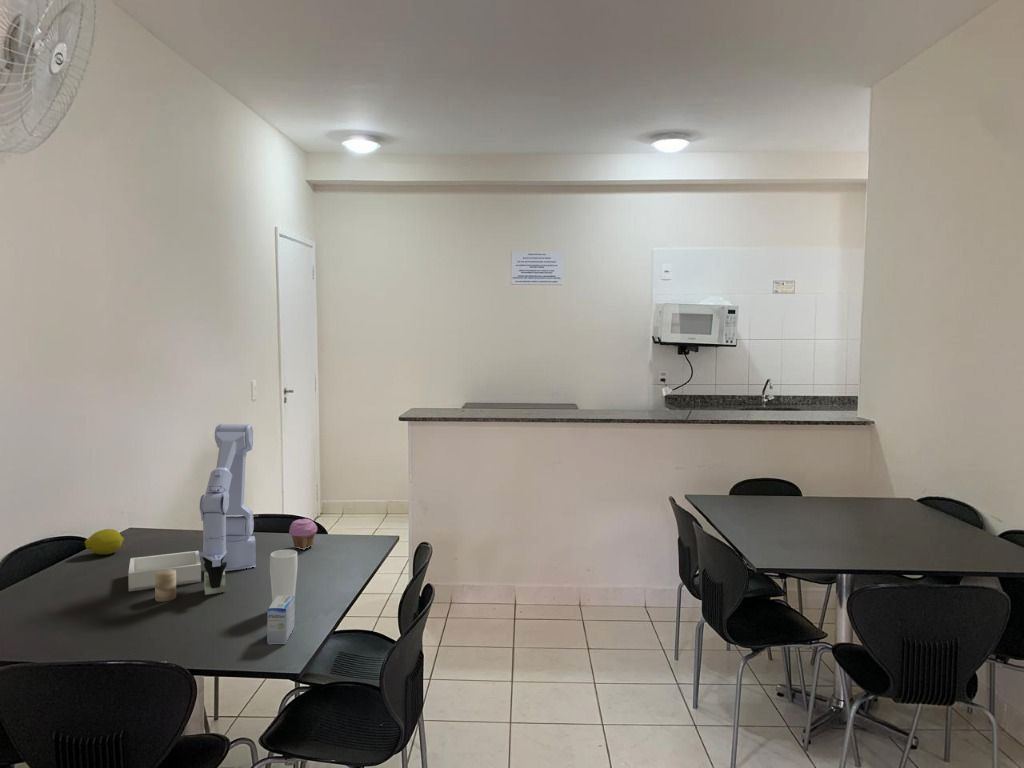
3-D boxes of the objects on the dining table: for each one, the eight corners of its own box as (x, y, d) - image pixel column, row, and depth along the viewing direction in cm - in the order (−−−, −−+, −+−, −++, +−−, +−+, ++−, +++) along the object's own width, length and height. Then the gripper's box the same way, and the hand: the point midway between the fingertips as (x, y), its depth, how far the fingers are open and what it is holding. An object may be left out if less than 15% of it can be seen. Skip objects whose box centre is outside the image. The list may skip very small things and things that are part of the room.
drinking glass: (271, 617, 167) (271, 558, 166) (268, 607, 173) (268, 551, 172) (299, 612, 170) (299, 555, 169) (294, 603, 176) (295, 547, 175)
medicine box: (276, 630, 160) (276, 595, 159) (295, 629, 160) (295, 595, 160) (266, 645, 152) (266, 608, 152) (286, 644, 153) (286, 608, 152)
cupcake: (305, 553, 217) (305, 523, 216) (283, 550, 220) (283, 520, 219) (322, 546, 225) (322, 517, 224) (301, 543, 228) (301, 514, 228)
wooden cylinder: (176, 593, 181) (175, 568, 181) (176, 599, 177) (176, 574, 176) (155, 596, 179) (155, 570, 178) (155, 602, 174) (154, 576, 174)
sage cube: (223, 585, 187) (223, 568, 186) (225, 592, 182) (225, 574, 182) (204, 588, 184) (204, 571, 184) (205, 594, 180) (205, 576, 180)
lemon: (122, 548, 218) (122, 524, 217) (126, 554, 211) (126, 530, 211) (83, 554, 211) (83, 529, 211) (86, 561, 205) (85, 535, 204)
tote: (198, 566, 202) (198, 550, 202) (201, 581, 190) (200, 564, 190) (130, 575, 194) (130, 558, 193) (128, 591, 181) (128, 573, 181)
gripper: (197, 530, 187) (197, 577, 188) (199, 545, 174) (200, 595, 175) (224, 527, 190) (224, 574, 191) (228, 541, 177) (229, 591, 178)
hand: (214, 584), depth 183 cm, fingers closed on sage cube, 5 cm apart
